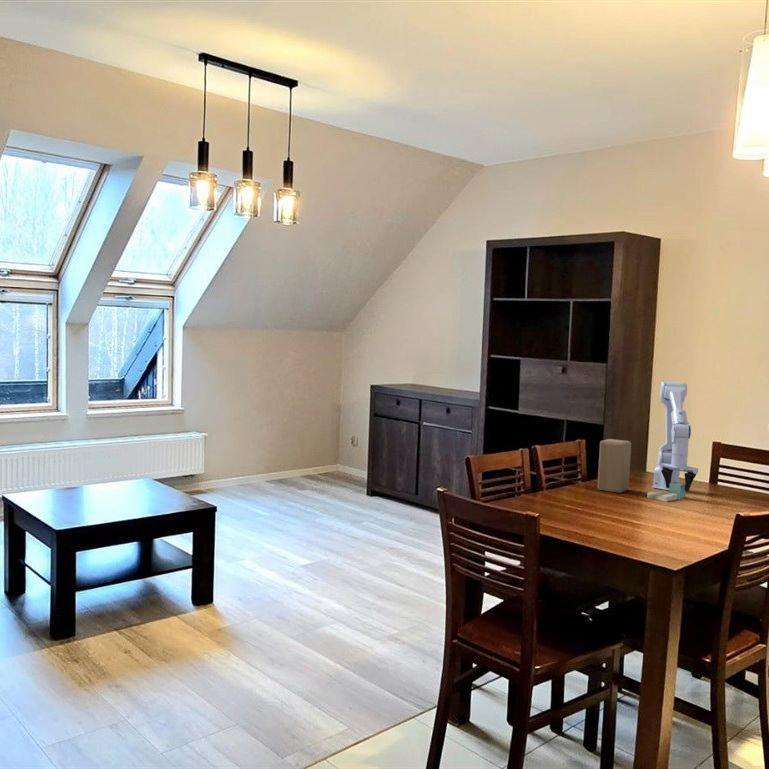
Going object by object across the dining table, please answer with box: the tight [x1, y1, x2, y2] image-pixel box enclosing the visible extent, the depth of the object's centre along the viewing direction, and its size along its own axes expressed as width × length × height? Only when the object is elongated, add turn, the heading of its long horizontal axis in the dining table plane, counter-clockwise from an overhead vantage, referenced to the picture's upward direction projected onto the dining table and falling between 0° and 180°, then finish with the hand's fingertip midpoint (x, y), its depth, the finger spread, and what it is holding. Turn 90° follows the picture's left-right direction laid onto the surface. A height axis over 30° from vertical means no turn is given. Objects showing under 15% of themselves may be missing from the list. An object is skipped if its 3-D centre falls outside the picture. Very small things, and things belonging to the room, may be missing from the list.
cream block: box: [646, 490, 678, 502], centre depth 296 cm, size 8×8×2 cm
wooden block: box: [597, 438, 632, 494], centre depth 308 cm, size 10×10×20 cm
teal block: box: [668, 481, 687, 500], centre depth 299 cm, size 4×4×6 cm
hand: (677, 489), depth 299 cm, fingers open, 7 cm apart
